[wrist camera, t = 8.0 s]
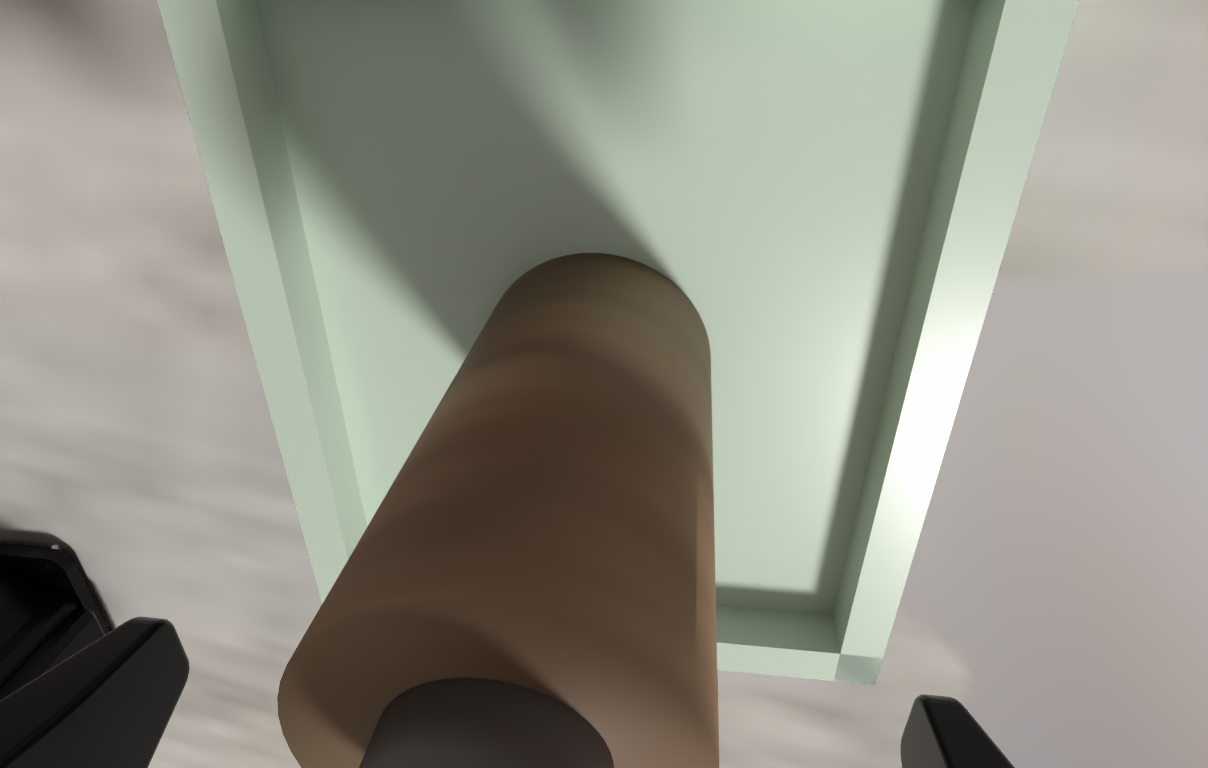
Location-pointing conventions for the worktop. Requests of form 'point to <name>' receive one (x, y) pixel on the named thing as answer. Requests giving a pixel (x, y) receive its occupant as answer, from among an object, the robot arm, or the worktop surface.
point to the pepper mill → (536, 552)
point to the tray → (635, 244)
